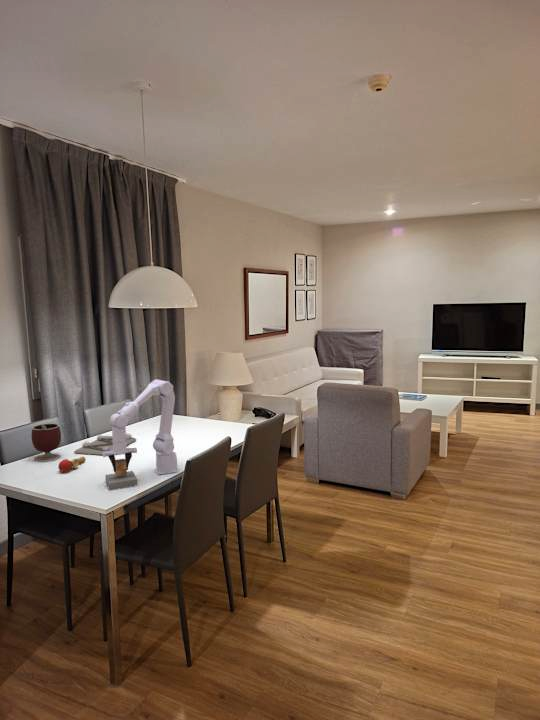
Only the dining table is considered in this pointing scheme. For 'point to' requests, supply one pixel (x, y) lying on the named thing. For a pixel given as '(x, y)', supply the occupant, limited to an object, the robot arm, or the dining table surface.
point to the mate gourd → (46, 441)
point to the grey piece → (101, 445)
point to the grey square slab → (121, 480)
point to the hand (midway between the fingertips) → (120, 470)
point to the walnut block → (120, 467)
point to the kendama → (70, 464)
